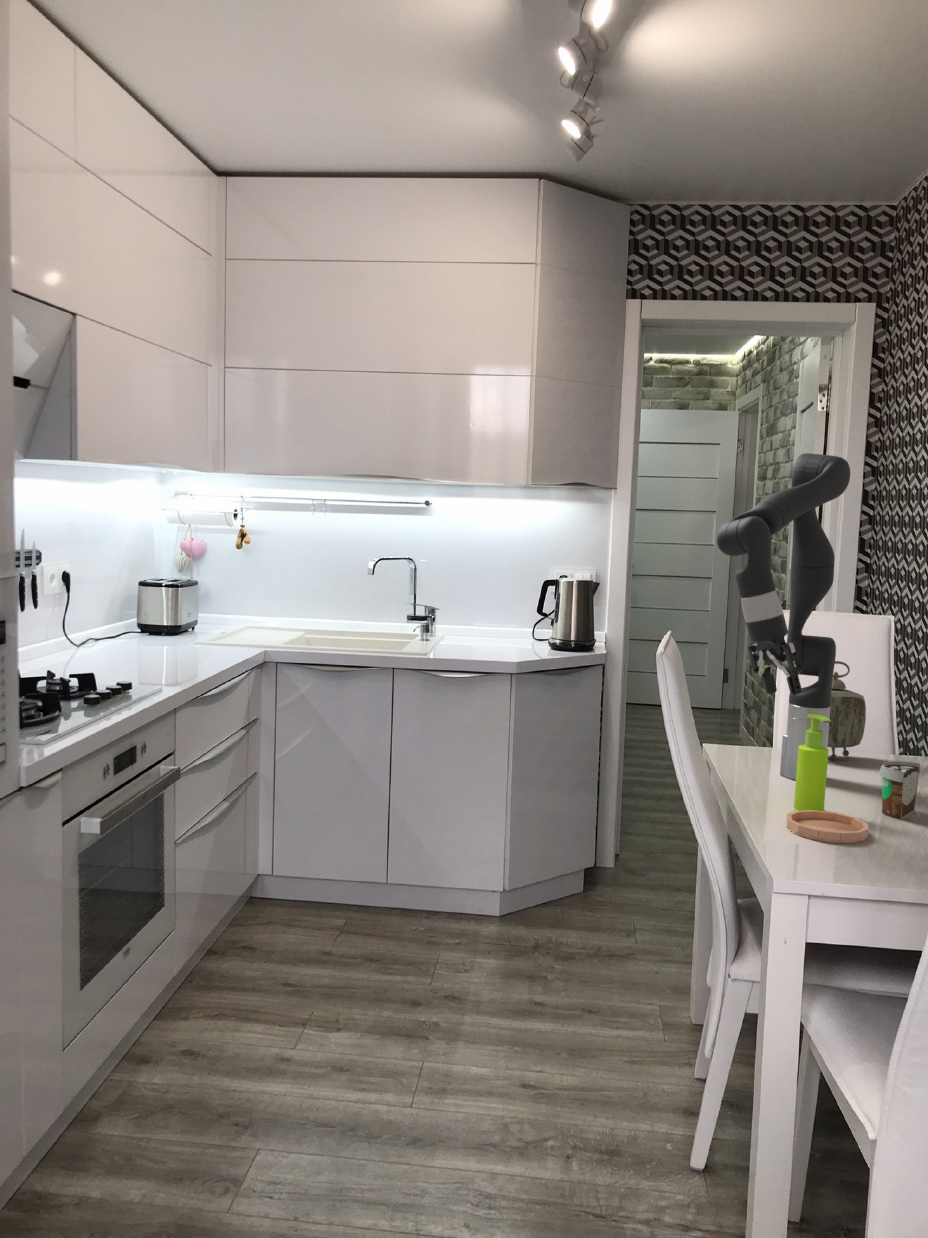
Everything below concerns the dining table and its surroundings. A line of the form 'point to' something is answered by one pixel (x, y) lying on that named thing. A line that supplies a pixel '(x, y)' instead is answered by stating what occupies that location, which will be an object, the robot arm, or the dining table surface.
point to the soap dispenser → (812, 768)
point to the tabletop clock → (845, 716)
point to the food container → (899, 788)
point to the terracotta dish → (827, 826)
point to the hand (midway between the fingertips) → (783, 693)
